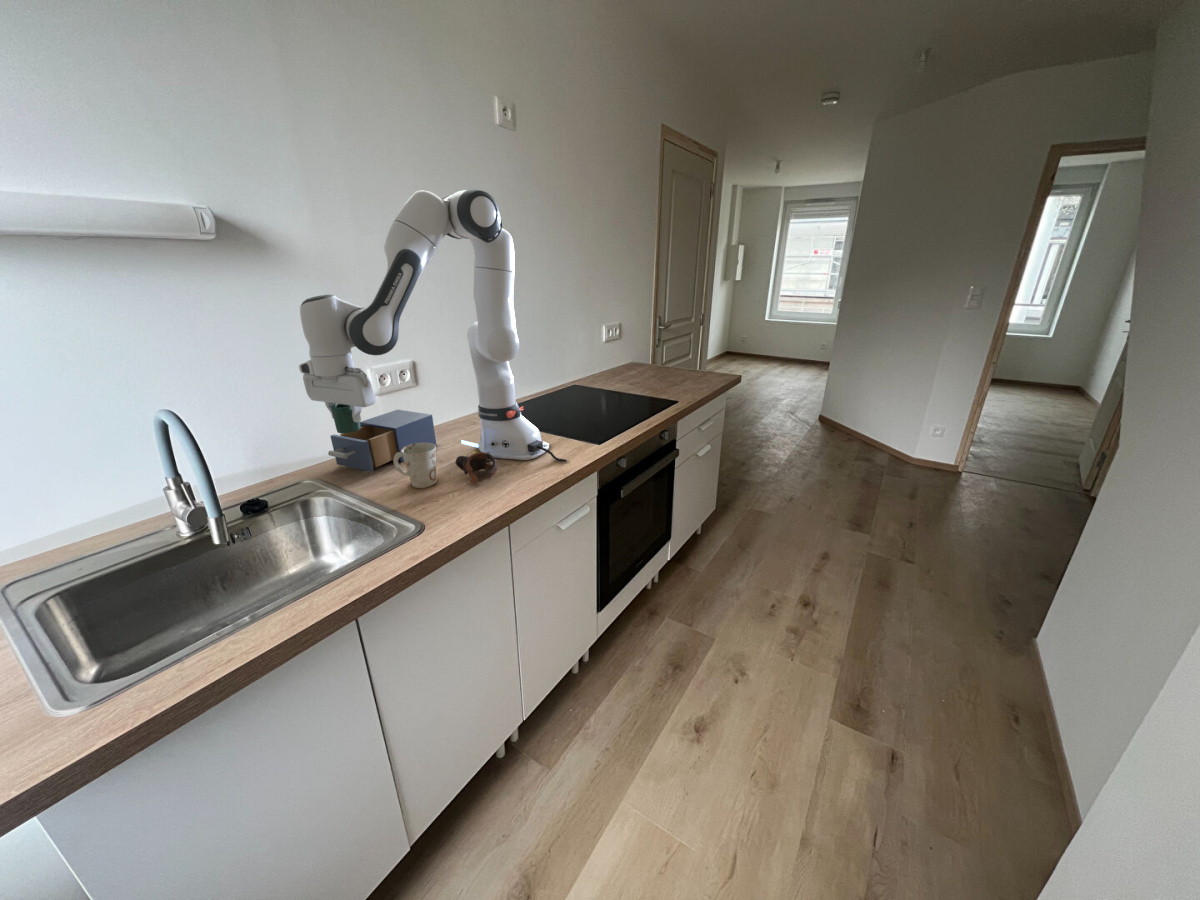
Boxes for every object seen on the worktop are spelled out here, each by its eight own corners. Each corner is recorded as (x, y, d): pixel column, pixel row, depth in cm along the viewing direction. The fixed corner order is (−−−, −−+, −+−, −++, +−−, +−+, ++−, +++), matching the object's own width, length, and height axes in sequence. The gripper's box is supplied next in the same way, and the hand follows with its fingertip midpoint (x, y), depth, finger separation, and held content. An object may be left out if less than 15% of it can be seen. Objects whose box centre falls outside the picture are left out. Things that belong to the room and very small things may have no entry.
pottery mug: (502, 471, 128) (503, 453, 122) (491, 498, 122) (490, 480, 115) (462, 459, 128) (460, 441, 122) (448, 486, 122) (445, 467, 115)
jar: (365, 427, 117) (360, 403, 114) (347, 434, 112) (341, 409, 110) (350, 425, 119) (345, 401, 116) (332, 431, 114) (326, 407, 112)
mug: (430, 491, 115) (424, 455, 112) (386, 487, 118) (379, 451, 114) (446, 477, 123) (441, 443, 119) (405, 474, 125) (399, 440, 122)
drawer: (357, 478, 121) (350, 447, 118) (323, 470, 126) (315, 440, 123) (408, 455, 136) (403, 427, 133) (375, 448, 141) (370, 422, 138)
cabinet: (401, 462, 133) (395, 428, 129) (366, 454, 139) (359, 422, 135) (436, 446, 146) (432, 414, 142) (402, 439, 151) (397, 409, 147)
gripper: (375, 366, 108) (386, 420, 113) (317, 360, 116) (330, 412, 121) (352, 371, 103) (365, 428, 108) (293, 365, 111) (308, 419, 116)
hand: (346, 420), depth 115 cm, fingers closed on jar, 5 cm apart
